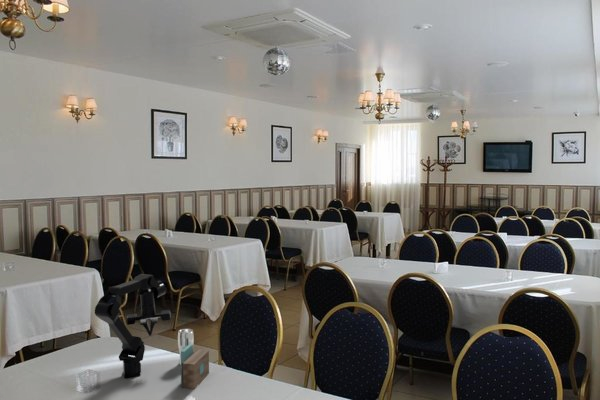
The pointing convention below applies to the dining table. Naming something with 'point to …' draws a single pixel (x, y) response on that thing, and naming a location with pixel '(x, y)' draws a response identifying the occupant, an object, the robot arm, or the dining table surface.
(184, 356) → the teal fan slab
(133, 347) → the robot arm
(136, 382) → the dining table surface
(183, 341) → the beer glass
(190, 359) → the block
